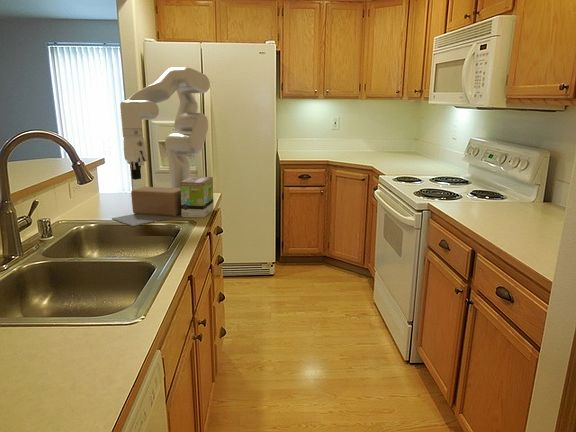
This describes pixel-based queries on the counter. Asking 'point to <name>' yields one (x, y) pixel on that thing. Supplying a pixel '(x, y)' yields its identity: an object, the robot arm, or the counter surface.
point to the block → (156, 201)
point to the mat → (141, 219)
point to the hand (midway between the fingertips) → (136, 178)
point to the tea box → (197, 196)
